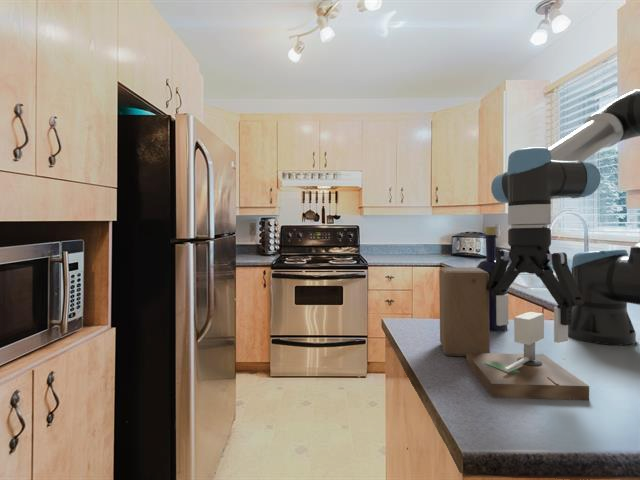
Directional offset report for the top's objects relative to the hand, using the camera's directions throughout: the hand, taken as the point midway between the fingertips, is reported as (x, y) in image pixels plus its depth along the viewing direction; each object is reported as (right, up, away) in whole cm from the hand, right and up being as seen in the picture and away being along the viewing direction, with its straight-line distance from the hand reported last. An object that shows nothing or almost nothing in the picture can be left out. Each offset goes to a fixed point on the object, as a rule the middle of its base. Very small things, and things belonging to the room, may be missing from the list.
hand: (529, 332), depth 74 cm
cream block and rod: (-2, -6, -2) cm, 6 cm away
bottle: (+9, -8, +35) cm, 37 cm away
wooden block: (-7, -8, +15) cm, 19 cm away
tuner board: (-3, -9, -2) cm, 10 cm away
